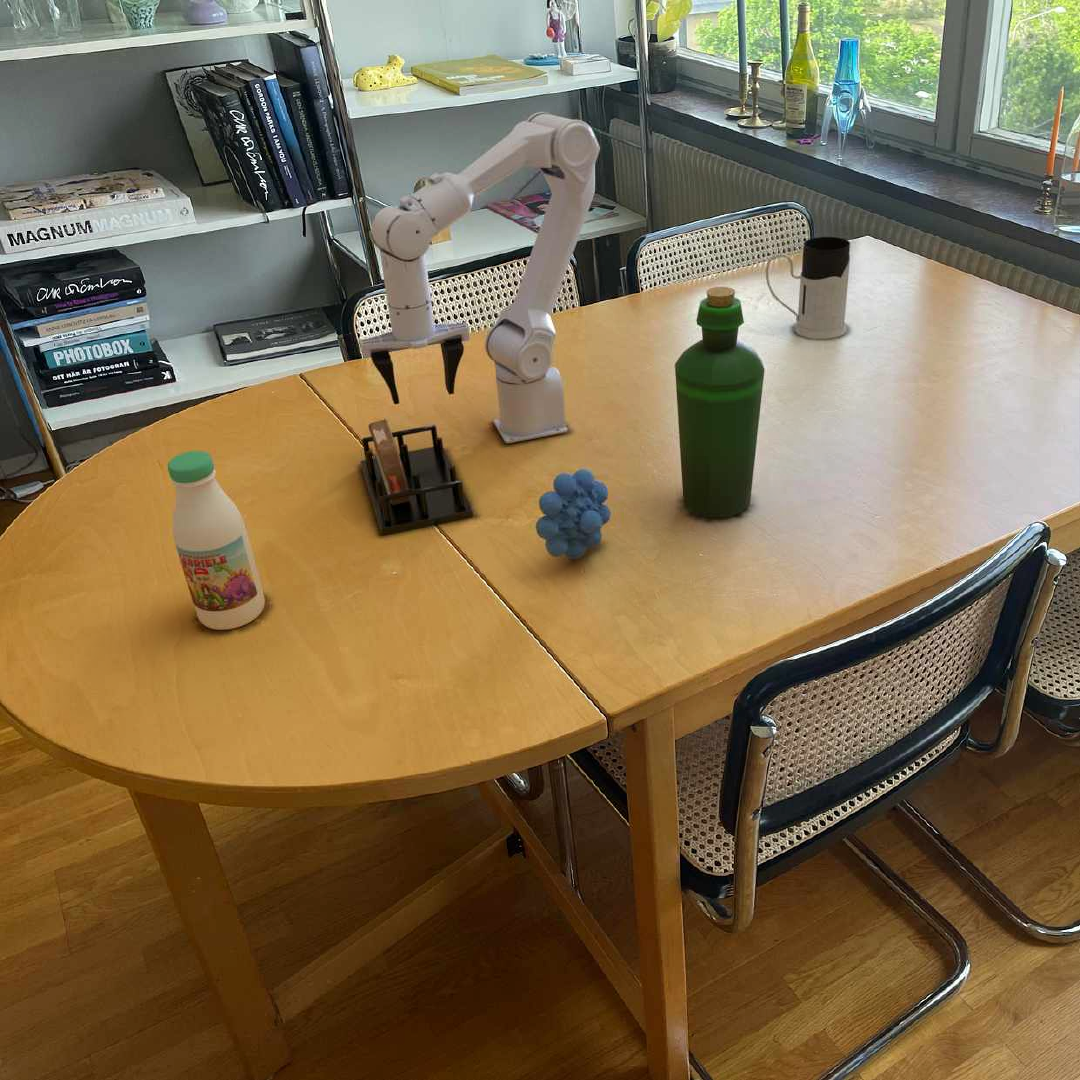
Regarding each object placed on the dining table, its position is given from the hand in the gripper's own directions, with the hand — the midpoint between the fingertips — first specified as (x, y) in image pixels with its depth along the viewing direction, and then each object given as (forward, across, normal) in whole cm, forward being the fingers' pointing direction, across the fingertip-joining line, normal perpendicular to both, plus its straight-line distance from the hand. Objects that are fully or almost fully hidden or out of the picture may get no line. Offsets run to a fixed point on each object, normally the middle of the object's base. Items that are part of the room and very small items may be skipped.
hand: (423, 396), depth 143 cm
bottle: (+10, +32, -27) cm, 43 cm away
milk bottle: (+10, -29, -28) cm, 42 cm away
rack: (+10, -4, -8) cm, 13 cm away
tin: (+9, -7, -8) cm, 14 cm away
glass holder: (+10, +70, +21) cm, 74 cm away
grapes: (+10, +12, -33) cm, 37 cm away
